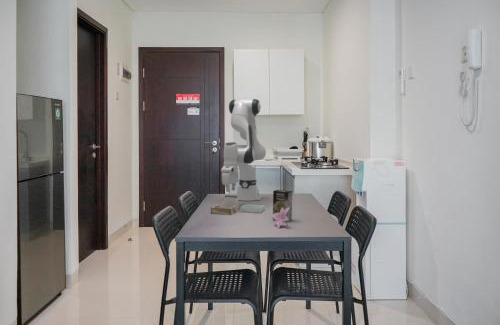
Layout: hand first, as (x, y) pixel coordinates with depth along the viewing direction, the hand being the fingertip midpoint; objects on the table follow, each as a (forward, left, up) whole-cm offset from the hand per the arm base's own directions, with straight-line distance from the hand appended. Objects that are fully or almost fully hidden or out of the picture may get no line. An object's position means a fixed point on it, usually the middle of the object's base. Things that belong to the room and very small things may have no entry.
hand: (230, 190), depth 258 cm
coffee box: (+21, +38, -12) cm, 45 cm away
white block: (-1, 0, -12) cm, 12 cm away
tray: (+1, +15, -11) cm, 19 cm away
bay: (+11, 0, -11) cm, 16 cm away
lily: (+37, +41, -12) cm, 56 cm away
